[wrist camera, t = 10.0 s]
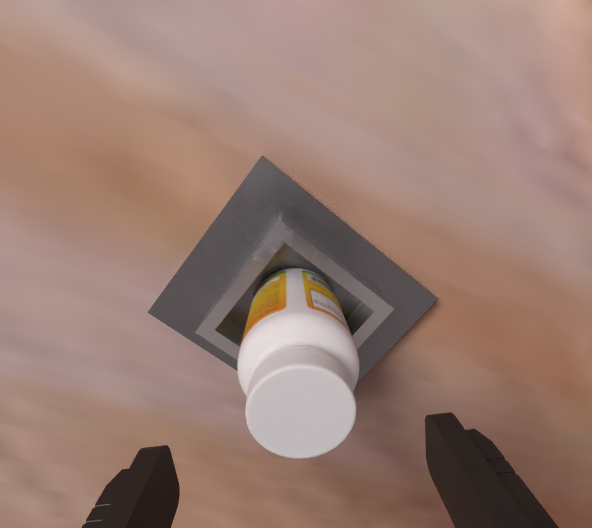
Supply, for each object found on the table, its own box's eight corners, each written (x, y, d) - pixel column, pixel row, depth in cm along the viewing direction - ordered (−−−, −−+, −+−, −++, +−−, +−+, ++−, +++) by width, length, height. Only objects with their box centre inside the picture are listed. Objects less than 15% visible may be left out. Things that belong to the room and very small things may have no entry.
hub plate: (430, 292, 22) (454, 313, 19) (317, 411, 25) (322, 448, 21) (263, 156, 20) (258, 153, 16) (154, 304, 22) (131, 328, 19)
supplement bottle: (254, 345, 22) (229, 478, 12) (250, 266, 20) (218, 349, 11) (336, 344, 22) (372, 473, 12) (338, 265, 20) (381, 345, 11)
